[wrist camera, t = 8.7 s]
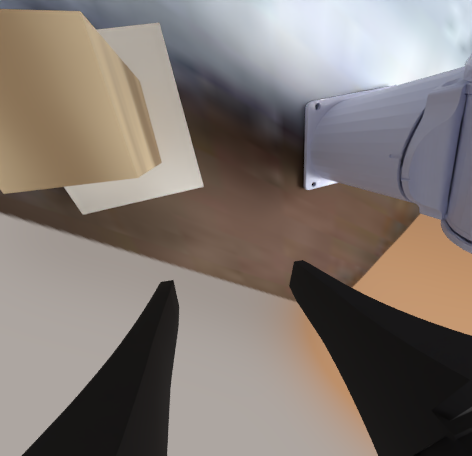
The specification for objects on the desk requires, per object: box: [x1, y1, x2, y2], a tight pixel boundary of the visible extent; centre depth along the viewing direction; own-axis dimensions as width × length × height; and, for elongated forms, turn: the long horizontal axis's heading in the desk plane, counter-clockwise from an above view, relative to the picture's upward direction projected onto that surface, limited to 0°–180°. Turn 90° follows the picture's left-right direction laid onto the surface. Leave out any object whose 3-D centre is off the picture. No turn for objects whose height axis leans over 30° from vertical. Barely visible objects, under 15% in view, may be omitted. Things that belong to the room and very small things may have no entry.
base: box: [64, 23, 204, 215], centre depth 12 cm, size 9×9×3 cm
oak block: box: [0, 9, 162, 194], centre depth 8 cm, size 4×4×6 cm
